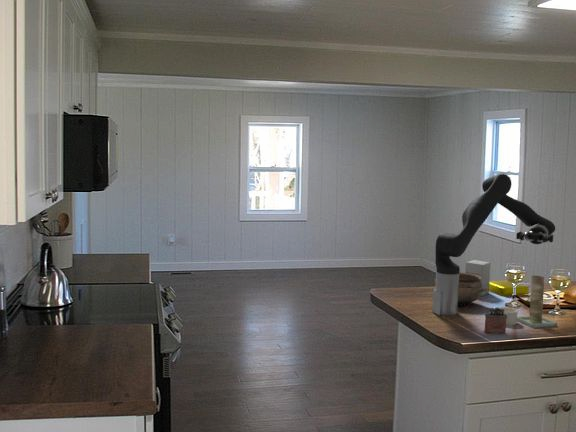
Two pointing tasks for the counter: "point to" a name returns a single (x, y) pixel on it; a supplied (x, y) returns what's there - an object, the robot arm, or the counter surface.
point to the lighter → (495, 321)
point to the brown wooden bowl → (469, 288)
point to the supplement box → (480, 272)
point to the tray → (536, 325)
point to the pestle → (536, 299)
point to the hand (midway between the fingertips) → (532, 239)
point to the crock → (510, 315)
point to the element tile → (507, 288)
